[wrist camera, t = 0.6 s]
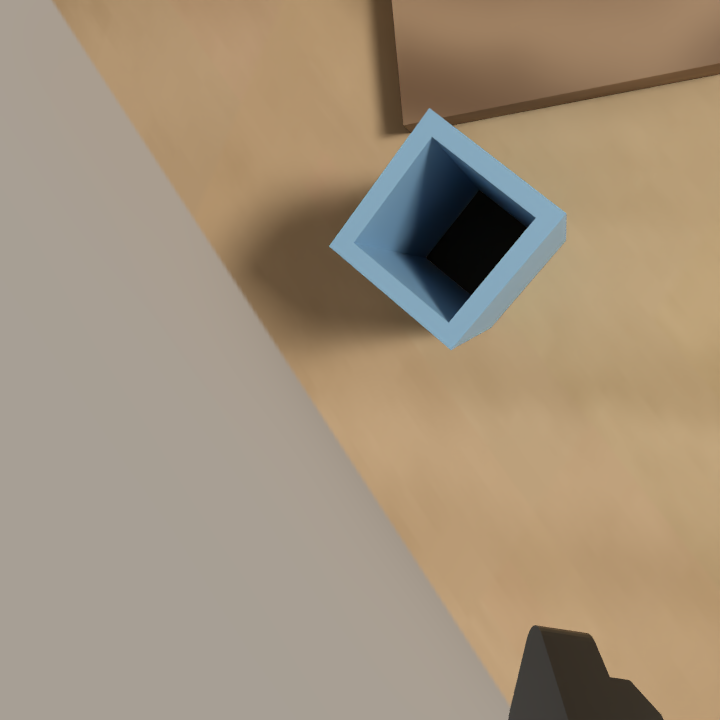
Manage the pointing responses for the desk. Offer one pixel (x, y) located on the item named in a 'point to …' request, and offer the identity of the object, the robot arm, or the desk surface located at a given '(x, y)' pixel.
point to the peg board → (544, 52)
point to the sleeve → (432, 220)
